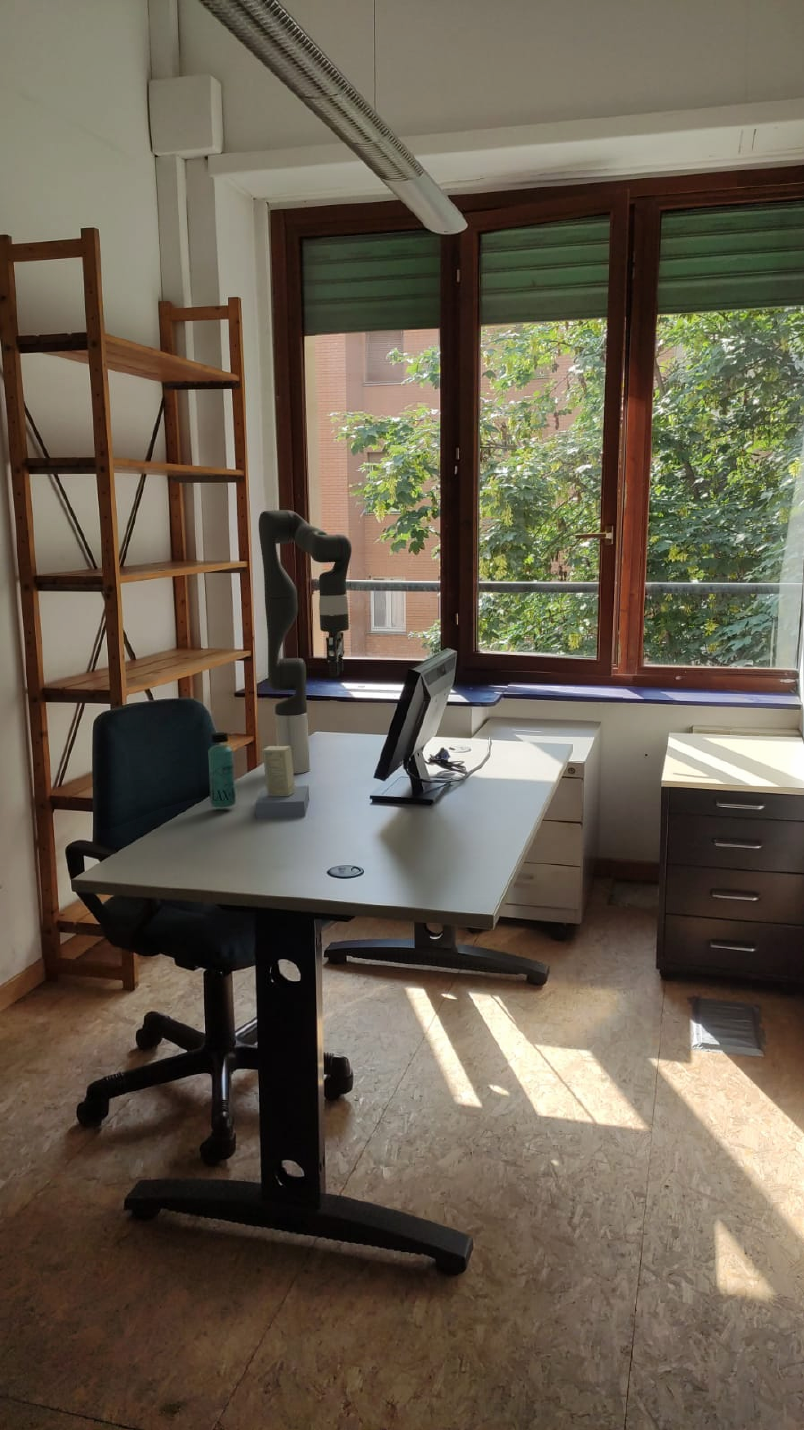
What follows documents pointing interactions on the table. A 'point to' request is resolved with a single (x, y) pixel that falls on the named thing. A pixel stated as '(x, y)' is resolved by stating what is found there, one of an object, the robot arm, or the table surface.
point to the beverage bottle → (221, 772)
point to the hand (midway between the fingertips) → (336, 674)
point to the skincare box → (278, 770)
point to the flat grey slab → (283, 804)
